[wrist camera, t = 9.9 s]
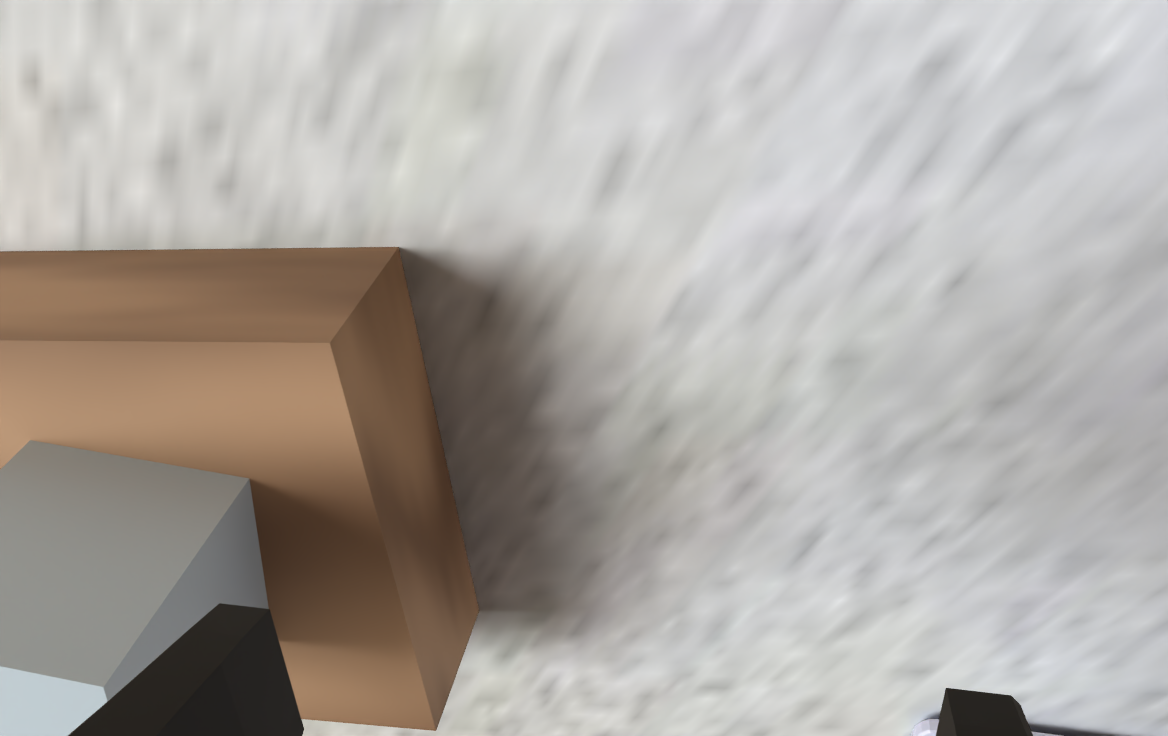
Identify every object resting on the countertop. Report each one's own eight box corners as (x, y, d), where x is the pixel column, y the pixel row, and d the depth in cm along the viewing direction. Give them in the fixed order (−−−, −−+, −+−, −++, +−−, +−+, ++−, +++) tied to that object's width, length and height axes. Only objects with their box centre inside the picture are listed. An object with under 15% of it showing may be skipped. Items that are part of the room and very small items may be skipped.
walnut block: (483, 598, 27) (435, 730, 23) (128, 577, 29) (39, 695, 26) (405, 237, 21) (329, 342, 18) (-24, 244, 23) (-162, 338, 20)
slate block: (273, 640, 23) (152, 856, 19) (77, 602, 23) (-82, 804, 19) (249, 478, 20) (103, 687, 16) (29, 440, 21) (-166, 632, 17)
